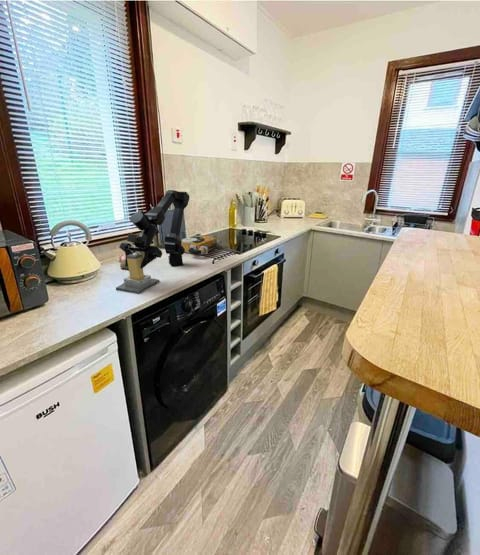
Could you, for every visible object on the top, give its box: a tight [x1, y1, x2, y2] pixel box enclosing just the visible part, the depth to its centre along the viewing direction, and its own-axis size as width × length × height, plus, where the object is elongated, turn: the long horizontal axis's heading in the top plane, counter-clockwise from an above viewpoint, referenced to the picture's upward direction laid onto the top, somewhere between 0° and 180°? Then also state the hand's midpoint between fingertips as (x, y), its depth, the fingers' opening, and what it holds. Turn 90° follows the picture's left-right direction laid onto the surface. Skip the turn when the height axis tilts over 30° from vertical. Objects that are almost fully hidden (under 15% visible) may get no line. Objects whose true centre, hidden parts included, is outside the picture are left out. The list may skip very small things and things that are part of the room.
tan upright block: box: [125, 253, 145, 280], centre depth 118 cm, size 4×5×14 cm
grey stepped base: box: [115, 274, 160, 295], centre depth 120 cm, size 14×12×4 cm
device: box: [181, 233, 222, 256], centre depth 171 cm, size 23×8×30 cm
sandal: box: [119, 251, 144, 270], centre depth 152 cm, size 12×30×8 cm, turn 177°
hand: (133, 267), depth 116 cm, fingers open, 7 cm apart
